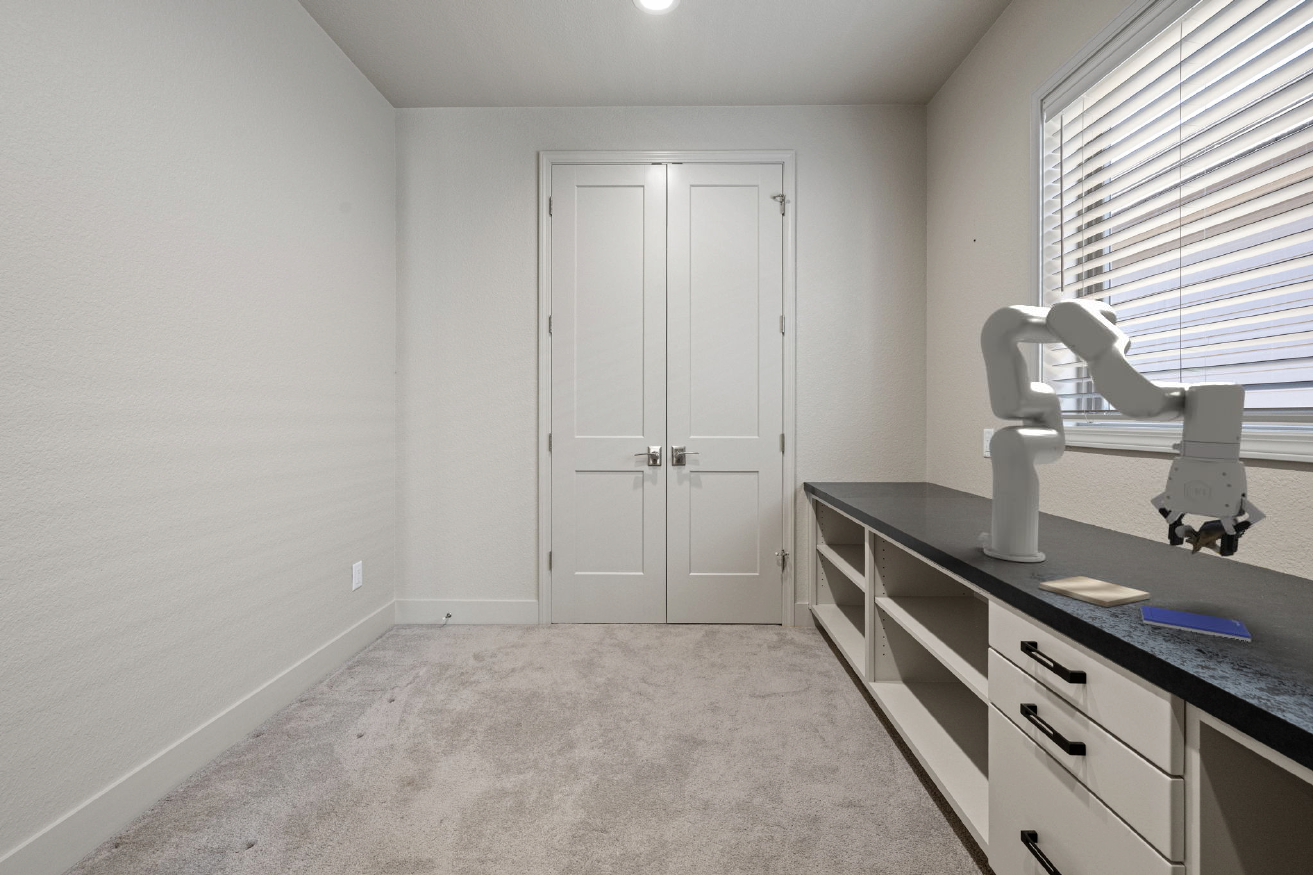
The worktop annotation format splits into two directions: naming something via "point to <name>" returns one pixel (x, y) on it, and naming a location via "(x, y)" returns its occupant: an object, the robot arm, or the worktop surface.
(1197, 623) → the hard drive
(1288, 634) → the worktop surface
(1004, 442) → the robot arm
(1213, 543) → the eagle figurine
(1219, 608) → the worktop surface
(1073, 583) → the ash board
